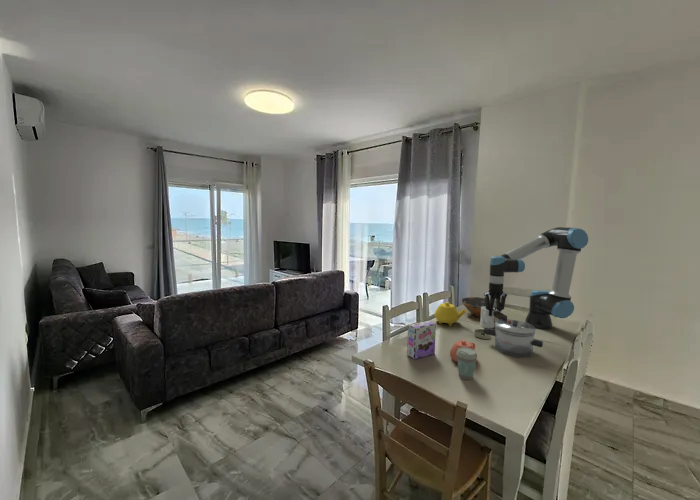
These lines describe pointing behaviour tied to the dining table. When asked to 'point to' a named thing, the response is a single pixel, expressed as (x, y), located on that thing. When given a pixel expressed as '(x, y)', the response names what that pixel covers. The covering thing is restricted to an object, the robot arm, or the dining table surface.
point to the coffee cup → (466, 362)
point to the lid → (512, 325)
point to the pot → (514, 343)
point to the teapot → (448, 313)
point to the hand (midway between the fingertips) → (494, 321)
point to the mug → (486, 318)
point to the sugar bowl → (459, 345)
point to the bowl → (475, 305)
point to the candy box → (421, 339)
